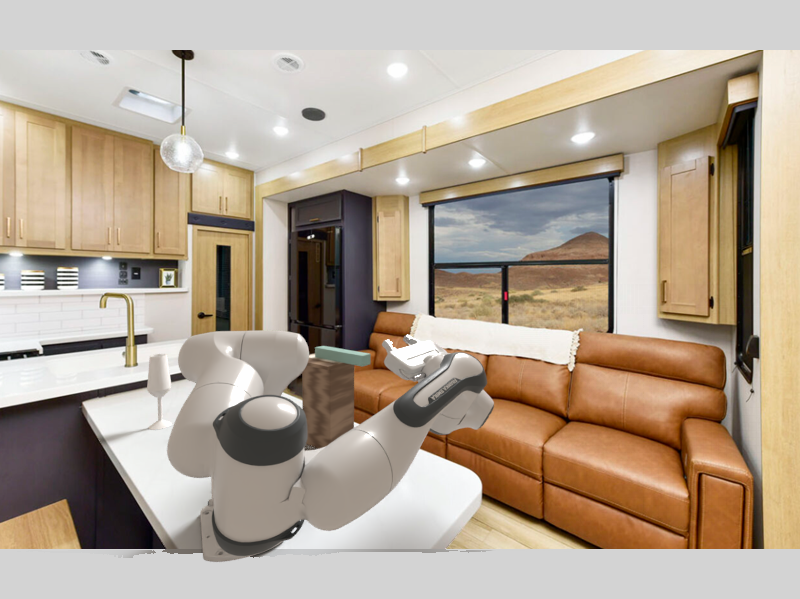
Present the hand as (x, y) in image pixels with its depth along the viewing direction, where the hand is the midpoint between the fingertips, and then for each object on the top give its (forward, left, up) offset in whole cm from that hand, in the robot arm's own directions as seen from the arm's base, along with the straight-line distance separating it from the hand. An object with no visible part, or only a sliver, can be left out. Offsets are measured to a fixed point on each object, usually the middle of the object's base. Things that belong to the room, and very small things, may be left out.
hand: (395, 339), depth 92 cm
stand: (+20, +15, -35) cm, 43 cm away
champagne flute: (+50, +66, -35) cm, 90 cm away
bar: (+15, +11, -8) cm, 21 cm away
